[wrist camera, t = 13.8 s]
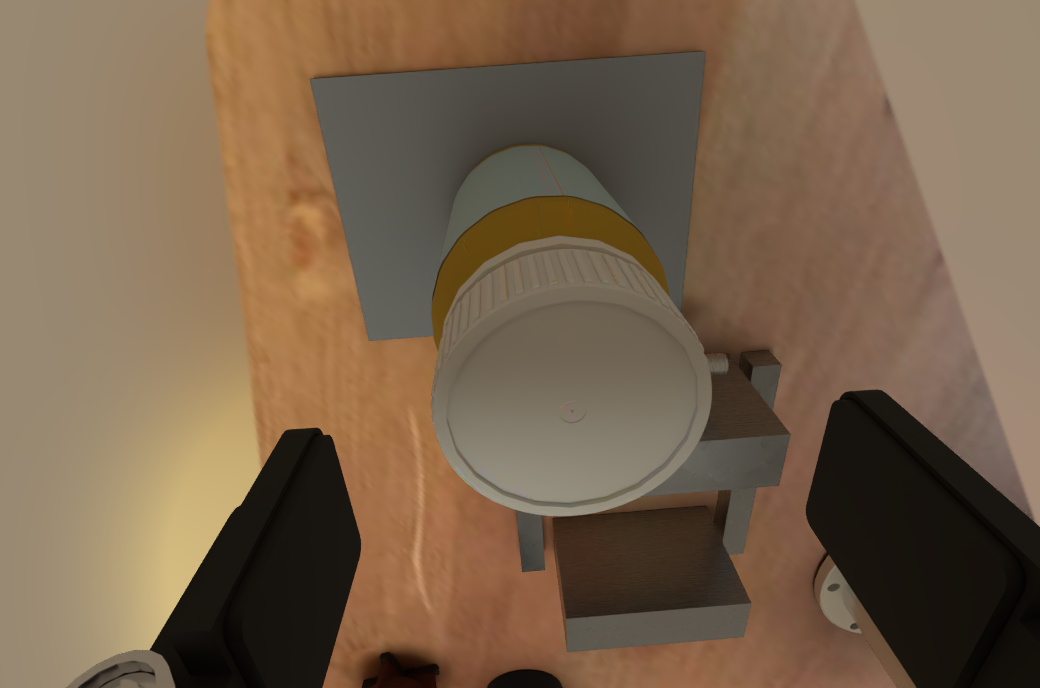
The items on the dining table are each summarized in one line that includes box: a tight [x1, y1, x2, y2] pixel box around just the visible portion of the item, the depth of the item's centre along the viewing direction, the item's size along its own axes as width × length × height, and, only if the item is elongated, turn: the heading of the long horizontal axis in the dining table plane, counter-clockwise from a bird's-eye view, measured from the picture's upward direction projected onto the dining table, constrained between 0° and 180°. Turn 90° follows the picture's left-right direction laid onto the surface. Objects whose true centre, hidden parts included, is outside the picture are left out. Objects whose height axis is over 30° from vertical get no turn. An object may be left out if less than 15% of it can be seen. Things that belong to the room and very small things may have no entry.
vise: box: [517, 350, 791, 652], centre depth 29 cm, size 14×17×7 cm
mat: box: [310, 51, 706, 341], centre depth 25 cm, size 16×12×1 cm
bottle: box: [431, 144, 712, 516], centre depth 18 cm, size 7×7×15 cm
